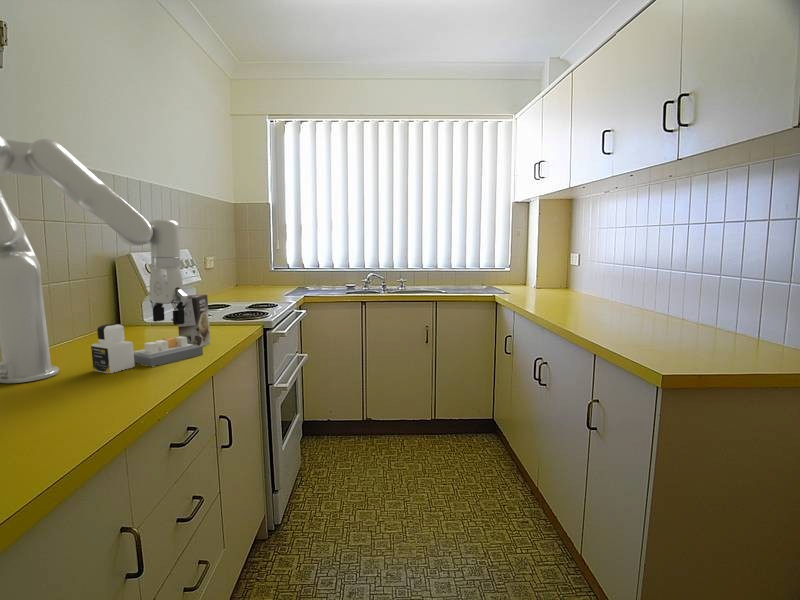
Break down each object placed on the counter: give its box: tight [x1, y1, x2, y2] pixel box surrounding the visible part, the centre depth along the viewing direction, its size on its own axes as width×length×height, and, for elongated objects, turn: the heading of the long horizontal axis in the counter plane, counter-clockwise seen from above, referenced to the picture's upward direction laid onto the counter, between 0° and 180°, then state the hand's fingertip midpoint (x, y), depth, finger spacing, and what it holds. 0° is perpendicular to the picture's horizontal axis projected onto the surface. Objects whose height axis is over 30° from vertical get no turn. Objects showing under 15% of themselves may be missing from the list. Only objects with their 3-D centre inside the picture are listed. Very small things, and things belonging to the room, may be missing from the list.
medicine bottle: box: [90, 323, 136, 375], centre depth 130 cm, size 7×7×12 cm
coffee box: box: [176, 294, 211, 348], centre depth 156 cm, size 9×6×16 cm
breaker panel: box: [133, 335, 204, 368], centre depth 142 cm, size 16×12×5 cm
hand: (168, 322), depth 143 cm, fingers open, 9 cm apart
